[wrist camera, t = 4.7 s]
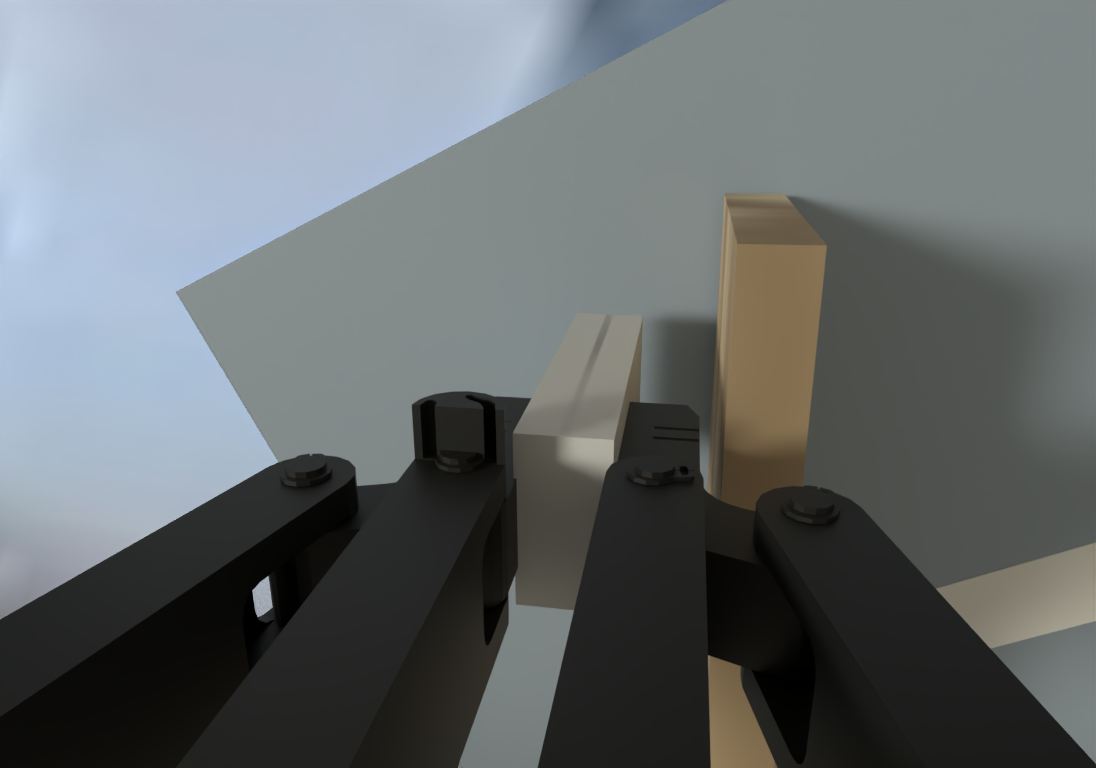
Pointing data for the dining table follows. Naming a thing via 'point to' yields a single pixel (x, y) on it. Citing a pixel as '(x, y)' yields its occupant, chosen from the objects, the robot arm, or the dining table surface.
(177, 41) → the dining table surface
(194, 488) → the dining table surface
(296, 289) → the card
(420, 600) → the robot arm
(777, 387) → the hinged panel
